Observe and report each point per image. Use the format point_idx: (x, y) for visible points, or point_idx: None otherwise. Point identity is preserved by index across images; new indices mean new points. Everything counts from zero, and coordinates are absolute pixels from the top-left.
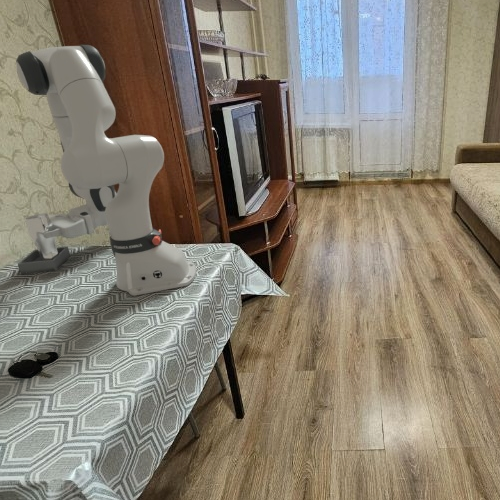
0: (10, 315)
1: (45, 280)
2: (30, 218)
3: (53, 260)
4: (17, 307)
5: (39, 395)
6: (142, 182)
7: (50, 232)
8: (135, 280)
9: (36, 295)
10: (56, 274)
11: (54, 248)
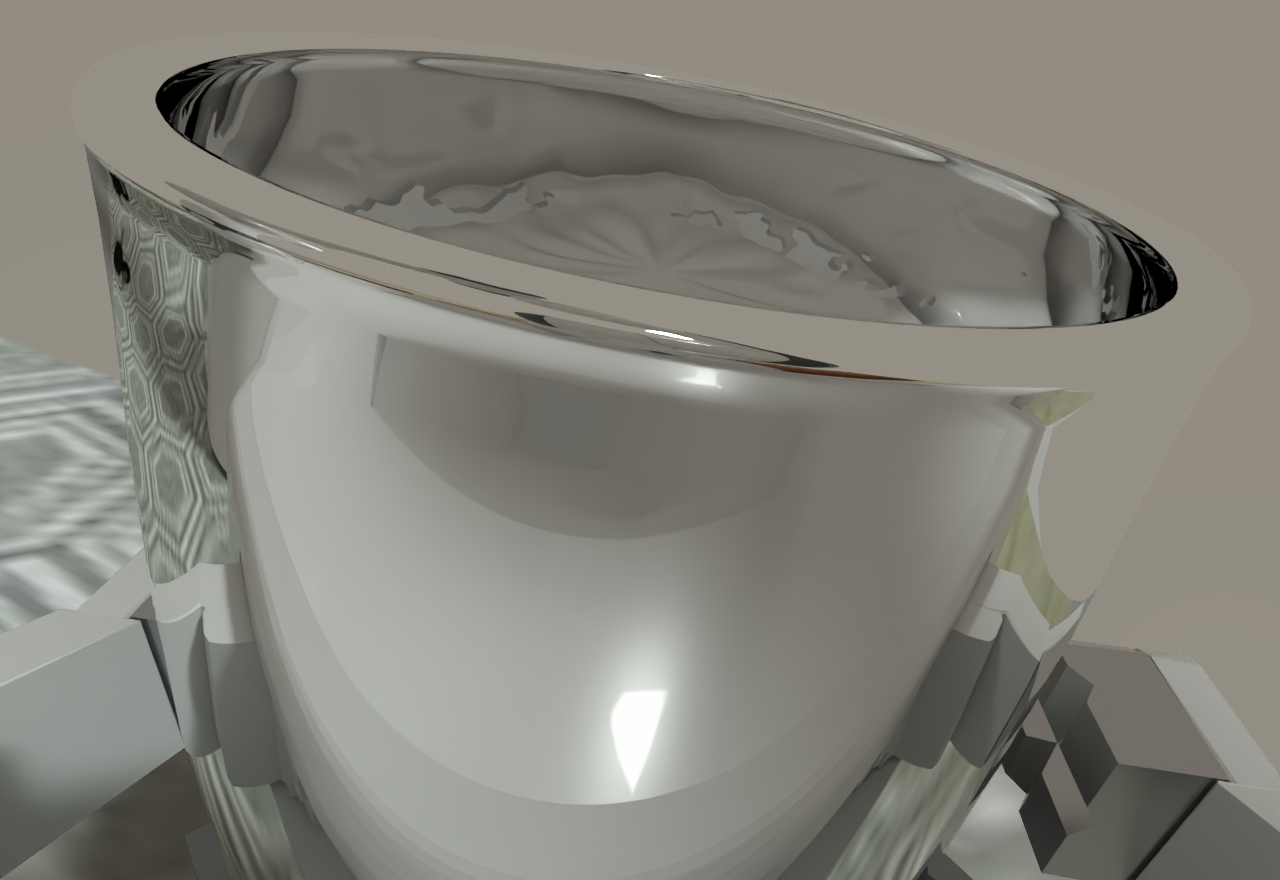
0: (103, 396)
1: None
2: (1013, 259)
3: (190, 832)
4: (123, 435)
5: None
6: None
7: (70, 625)
8: None
9: (73, 533)
10: (139, 847)
11: None
